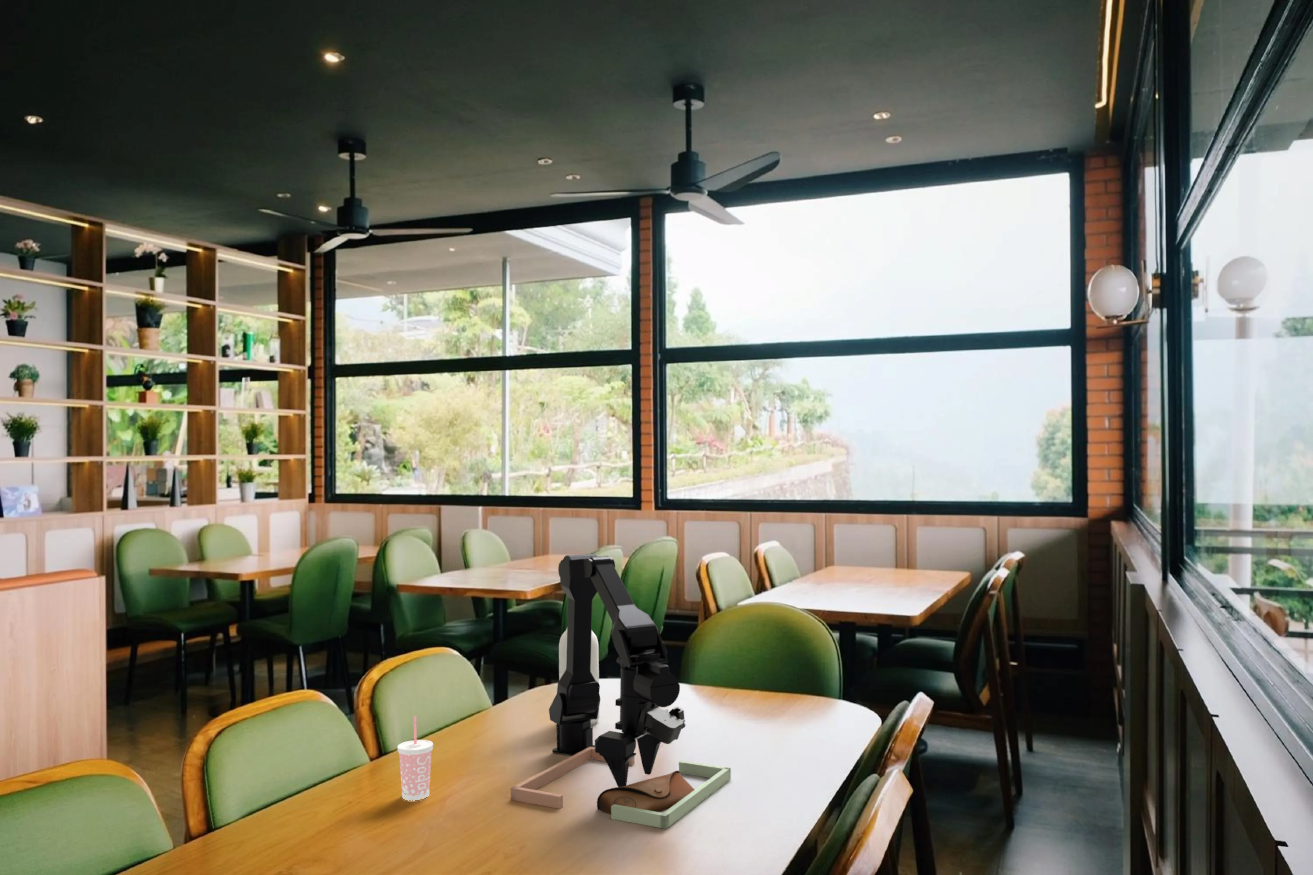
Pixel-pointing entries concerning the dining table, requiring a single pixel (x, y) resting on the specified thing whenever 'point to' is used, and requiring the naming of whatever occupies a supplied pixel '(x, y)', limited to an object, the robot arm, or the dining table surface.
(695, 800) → the mint green arch
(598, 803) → the sunglasses case
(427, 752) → the beverage cup
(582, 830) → the dining table surface
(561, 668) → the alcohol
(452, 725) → the dining table surface
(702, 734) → the dining table surface
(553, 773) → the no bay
